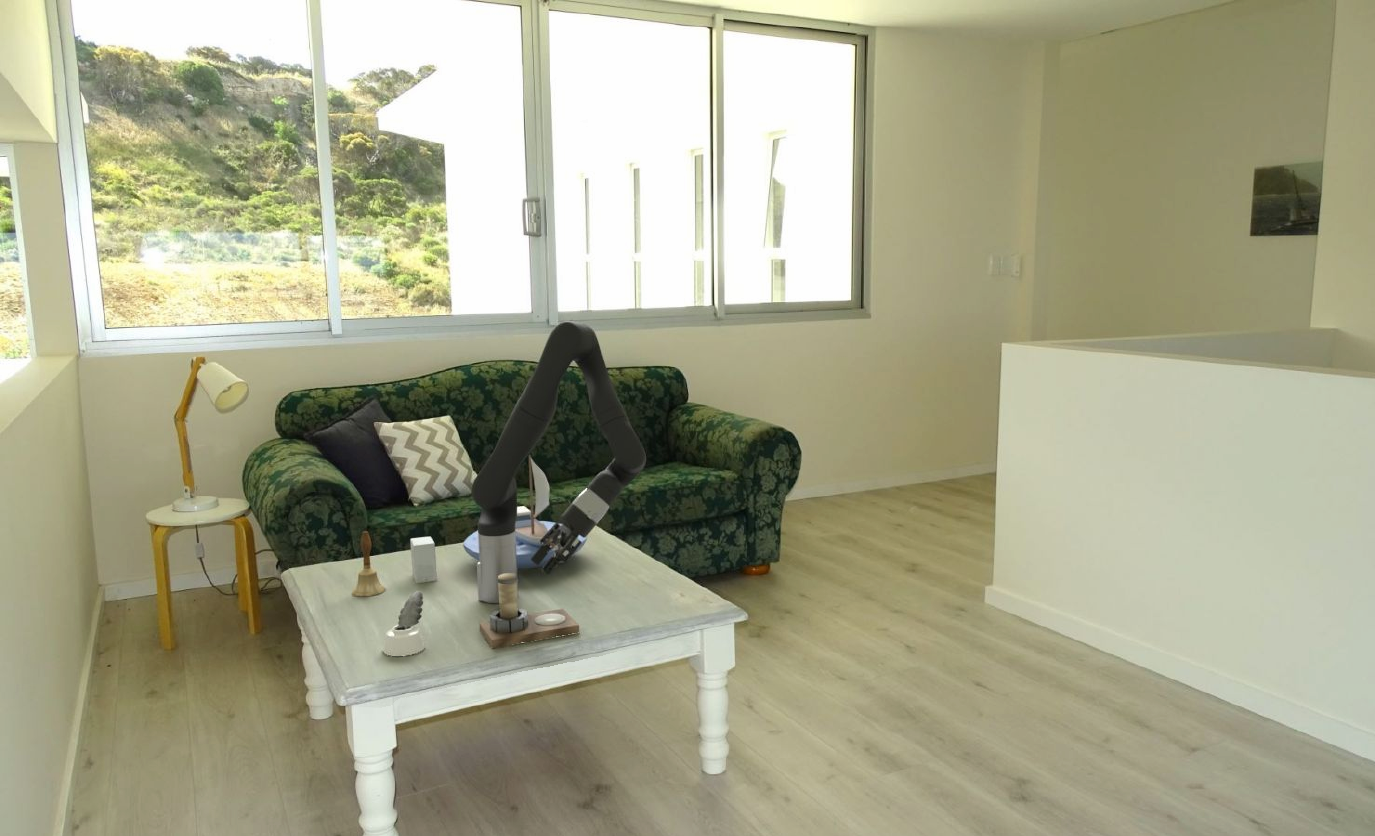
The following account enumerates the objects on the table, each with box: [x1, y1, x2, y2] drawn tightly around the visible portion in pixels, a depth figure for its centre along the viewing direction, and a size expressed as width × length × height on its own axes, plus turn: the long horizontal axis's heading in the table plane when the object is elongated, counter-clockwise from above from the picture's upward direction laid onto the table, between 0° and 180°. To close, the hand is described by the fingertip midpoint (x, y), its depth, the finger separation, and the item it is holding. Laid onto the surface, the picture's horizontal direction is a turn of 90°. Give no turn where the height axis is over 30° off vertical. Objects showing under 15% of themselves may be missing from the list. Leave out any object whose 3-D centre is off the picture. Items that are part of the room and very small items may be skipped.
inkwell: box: [381, 590, 426, 656], centre depth 219 cm, size 9×18×10 cm, turn 179°
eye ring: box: [489, 608, 529, 634], centre depth 222 cm, size 8×8×3 cm
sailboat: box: [462, 454, 588, 570], centre depth 276 cm, size 34×35×32 cm
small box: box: [409, 536, 438, 584], centre depth 265 cm, size 8×6×10 cm
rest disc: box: [535, 614, 565, 626], centre depth 226 cm, size 7×7×1 cm
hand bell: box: [351, 530, 387, 597], centre depth 254 cm, size 8×8×16 cm
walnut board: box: [478, 608, 580, 650], centre depth 224 cm, size 20×12×2 cm, turn 115°
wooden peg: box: [498, 573, 519, 619], centre depth 221 cm, size 4×4×12 cm
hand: (539, 567), depth 224 cm, fingers open, 8 cm apart
